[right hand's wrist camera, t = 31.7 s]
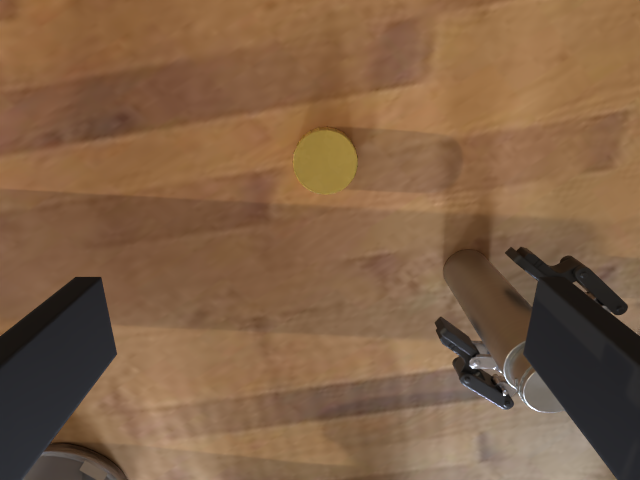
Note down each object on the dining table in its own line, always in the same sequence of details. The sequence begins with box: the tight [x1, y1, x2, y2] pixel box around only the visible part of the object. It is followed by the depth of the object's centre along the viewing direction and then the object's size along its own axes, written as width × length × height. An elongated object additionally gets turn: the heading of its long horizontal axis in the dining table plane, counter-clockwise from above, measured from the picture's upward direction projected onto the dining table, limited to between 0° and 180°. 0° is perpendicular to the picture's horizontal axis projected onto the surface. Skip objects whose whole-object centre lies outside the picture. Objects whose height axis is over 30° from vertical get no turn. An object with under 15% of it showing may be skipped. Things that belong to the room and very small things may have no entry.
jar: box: [443, 250, 565, 413], centre depth 33 cm, size 4×4×17 cm
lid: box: [293, 126, 358, 195], centre depth 36 cm, size 6×6×2 cm
